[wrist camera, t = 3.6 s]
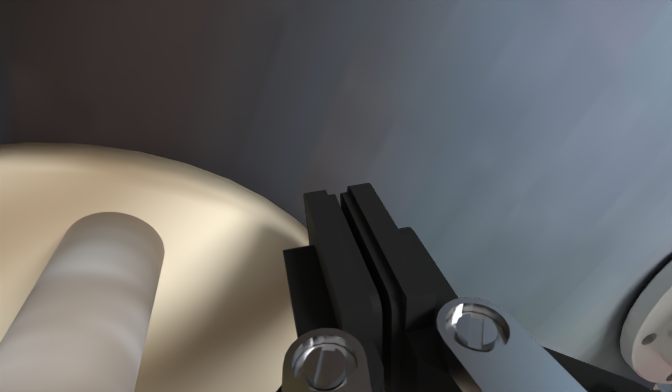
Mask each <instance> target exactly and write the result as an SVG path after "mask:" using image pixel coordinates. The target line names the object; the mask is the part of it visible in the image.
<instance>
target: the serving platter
mask: <svg viewBox="0 0 672 392" xmlns="http://www.w3.org/2000/svg"><path fill="white" fill-rule="evenodd" d="M308 245H309V239H308V230H307V229H306V228H305V227H304V226H303V225H302V224H301V223H300V222H299V221H298V220H296V219H295V218H294V217H292V216H291V215H290V214H288V213H287V212H285V211H284V210H282V209H281V208H279V207H278V206H276V205H275V204H274V203H272V202H271V201H269V200H268V199H266V198H265V197H263V196H261V195H259V194H257V193H255V192H253V191H251V190H249V189H247V188H245V187H243V186H241V185H239V184H237V183H235V182H233V181H232V180H230V179H227V178H224V177H222V176H219V175H216V174H214V173H211V172H208V171H206V170H203V169H200V168H198V167H195V166H192V165H190V164H187V163H183V162H179V161H175V160H171V159H167V158H163V157H159V156H155V155H151V154H147V153H143V152H139V151H133V150H126V149H118V148H111V147H104V146H97V145H90V144H73V143H44V142H24V143H11V144H0V392H276V391H277V390H278V389H279V387H280V386H281V385H282V370H283V362H284V357H285V354H286V352H287V350H288V349H289V347H290V345H291V344H292V343H293V342H294V341H295V340H296V339H297V333H296V327H295V321H294V316H293V310H292V304H291V299H290V293H289V287H288V281H287V275H286V268H285V262H284V256H283V250H286V249H291V248H297V247H302V246H308Z"/></svg>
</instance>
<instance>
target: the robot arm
mask: <svg viewBox="0 0 672 392" xmlns="http://www.w3.org/2000/svg"><path fill="white" fill-rule="evenodd" d="M340 202H341V207H340V205H339V202H338V200H337V198H336V196H335V194H333V195H328V194H327V192H326V190H322V191H316V192H310V193H304V204H305V213H306V222H307V230H308V239H309V245H308V246H302V247H297V248H291V249H286V250H283V256H284V262H285V268H286V275H287V281H288V287H289V293H290V299H291V304H292V310H293V316H294V321H295V327H296V333H297V339H296V340H295V341H294V342H293V343H292V344H291V345H290V347H289V349H288V350H287V352H286V354H285V357H284V362H283V370H282V385H281V386H280V387H279V389H278V390H277V391H276V392H384V391H385V392H672V260H671V261H670V262H669V263H668V264H667V265H666V266H665V267H664V268H663V269H662V270H661V271H660V272H658V273H657V274H656V276H655V277H654V278H653V279H652V280H651V281H650V283H649V284H648V285H647V286H646V287H645V289H644V290H643V291H642V292H641V294H640V295H639V297H638V298H637V300H636V301H635V303H634V304H633V306H632V307H631V309H630V311H629V313H628V315H627V318H626V320H625V322H624V324H623V328H622V332H621V337H620V350H621V354H622V356H623V358H624V360H625V362H626V363H627V364H628V365H629V366H630V367H631V368H632V369H633V370H634V371H635V372H636V373H637V374H638V375H639V376H640V377H642V378H643V379H645V380H647V381H649V382H654V383H659V384H655V386H654V388H653V390H650V389H648V388H646V387H644V386H642V385H640V384H638V383H636V382H634V381H632V380H629V379H627V378H624V377H621V376H619V375H616V374H613V373H611V372H608V371H606V370H603V369H600V368H598V367H595V366H592V365H590V364H587V363H585V362H582V361H579V360H577V359H574V358H572V357H569V356H566V355H564V354H561V353H558V352H556V351H553V350H551V349H548V348H545V347H543V346H541V345H540V344H539V343H538V342H537V341H536V340H535V339H534V338H533V337H532V336H531V335H530V334H529V333H528V332H527V331H526V330H525V329H524V328H523V327H522V326H521V325H520V324H519V323H518V322H517V321H516V320H515V319H514V318H513V317H512V316H511V315H510V314H509V313H508V312H506V311H505V310H504V309H503V308H501V307H500V306H498V305H496V304H494V303H492V302H490V301H488V300H484V299H480V298H472V297H463V298H458V297H457V295H456V294H455V292H454V291H453V289H452V288H451V286H450V285H449V283H448V282H447V280H446V279H445V277H444V276H443V274H442V273H441V271H440V270H439V268H438V267H437V265H436V264H435V262H434V261H433V259H432V258H431V256H430V255H429V253H428V252H427V250H426V249H425V247H424V245H423V244H422V242H421V241H420V239H419V238H418V236H417V235H416V233H415V232H414V231H413V230H412V228H410V227H406V228H400V229H398V228H397V226H396V225H395V223H394V221H393V220H392V218H391V216H390V215H389V213H388V211H387V210H386V208H385V207H384V205H383V203H382V202H381V200H380V198H379V197H378V195H377V194H376V192H375V190H374V189H373V187H372V185H371V184H370V183H365V184H359V185H353V186H348V187H347V192H345V193H341V194H340Z"/></svg>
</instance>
